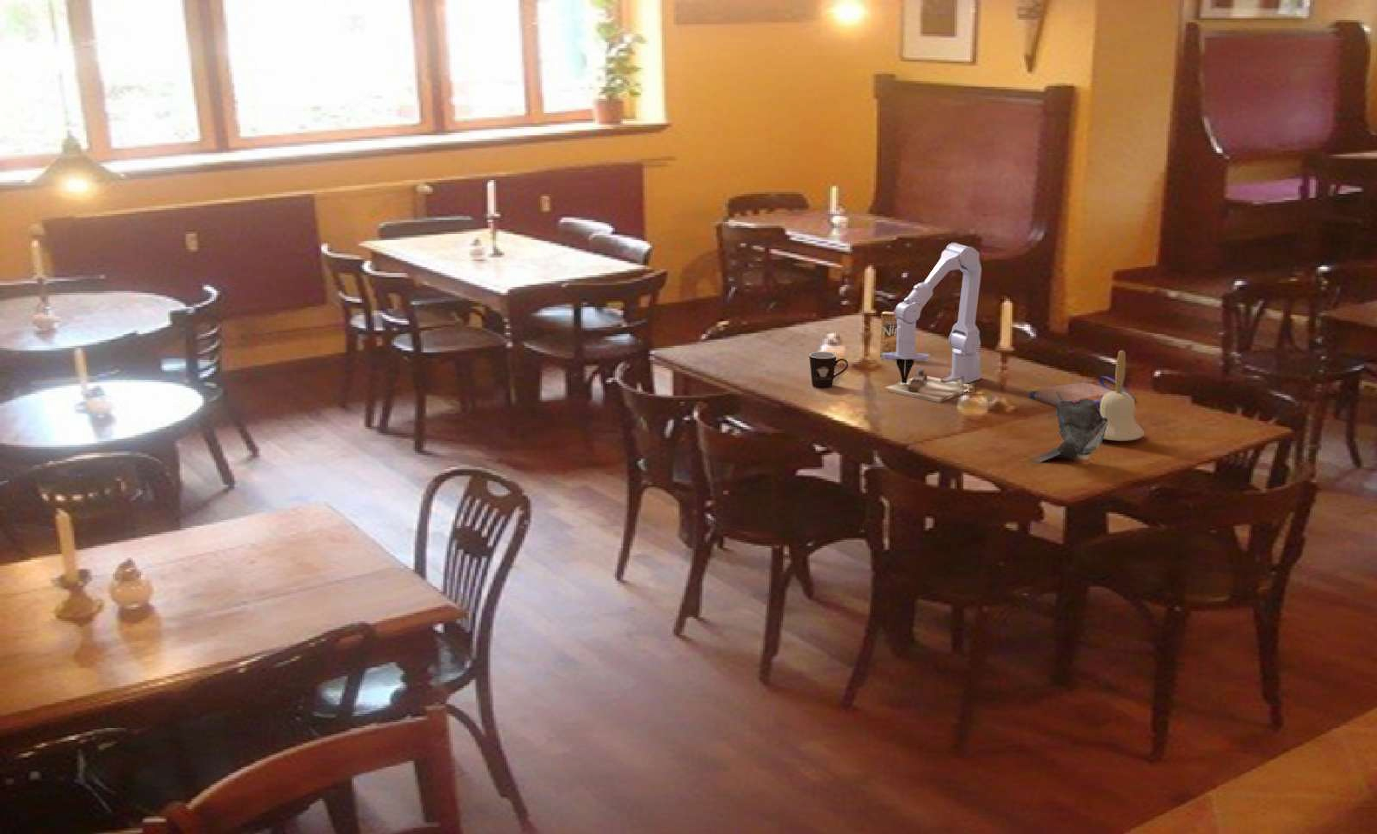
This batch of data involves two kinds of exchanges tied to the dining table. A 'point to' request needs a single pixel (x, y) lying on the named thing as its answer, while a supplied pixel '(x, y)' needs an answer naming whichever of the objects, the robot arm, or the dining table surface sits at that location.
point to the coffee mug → (823, 368)
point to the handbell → (1120, 409)
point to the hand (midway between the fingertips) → (904, 382)
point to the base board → (930, 389)
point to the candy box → (888, 333)
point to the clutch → (1074, 392)
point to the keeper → (955, 378)
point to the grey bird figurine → (1077, 430)
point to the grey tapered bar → (917, 381)
